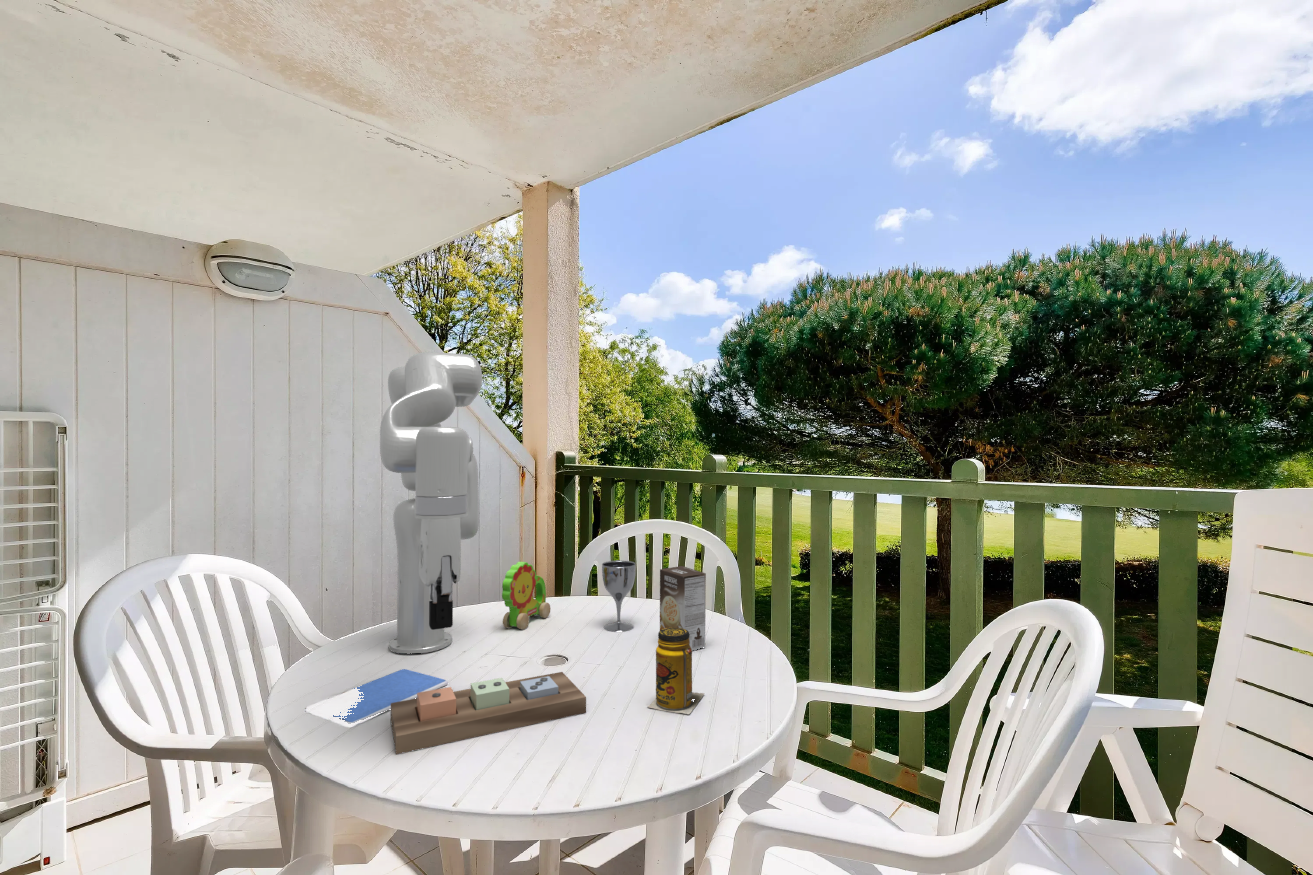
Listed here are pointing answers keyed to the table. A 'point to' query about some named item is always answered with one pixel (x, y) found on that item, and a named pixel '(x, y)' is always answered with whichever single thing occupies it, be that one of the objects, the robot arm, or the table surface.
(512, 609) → the green wooden toy car
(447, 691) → the button one dot
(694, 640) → the coffee box
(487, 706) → the button two dots
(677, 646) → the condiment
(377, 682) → the blue rectangular pad
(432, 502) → the robot arm
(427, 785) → the table surface
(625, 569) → the wine glass
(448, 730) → the button board
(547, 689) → the button three dots
